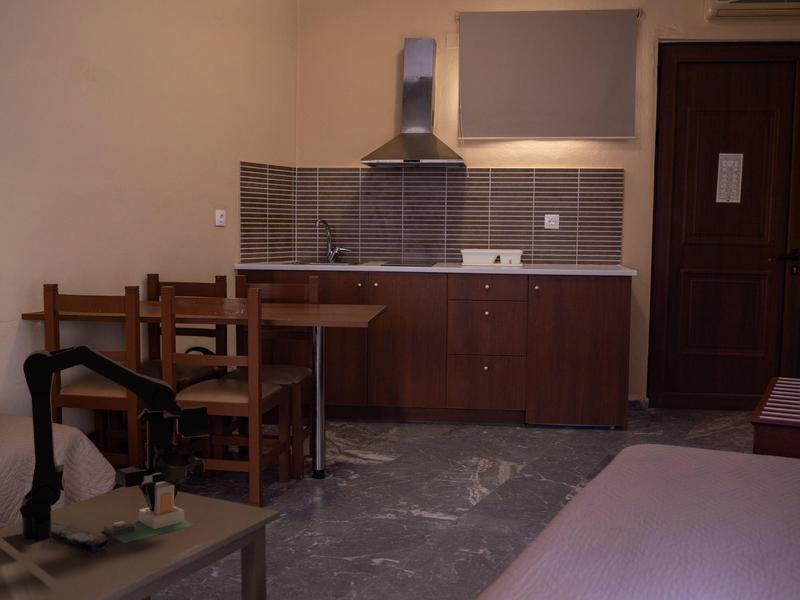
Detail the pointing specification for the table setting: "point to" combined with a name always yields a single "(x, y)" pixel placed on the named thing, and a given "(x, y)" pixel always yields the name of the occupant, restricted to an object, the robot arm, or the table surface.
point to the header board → (154, 525)
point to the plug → (163, 498)
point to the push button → (119, 528)
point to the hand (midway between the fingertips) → (161, 509)
